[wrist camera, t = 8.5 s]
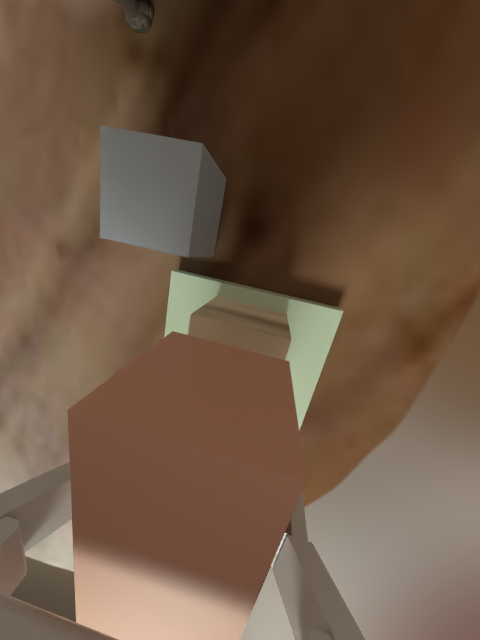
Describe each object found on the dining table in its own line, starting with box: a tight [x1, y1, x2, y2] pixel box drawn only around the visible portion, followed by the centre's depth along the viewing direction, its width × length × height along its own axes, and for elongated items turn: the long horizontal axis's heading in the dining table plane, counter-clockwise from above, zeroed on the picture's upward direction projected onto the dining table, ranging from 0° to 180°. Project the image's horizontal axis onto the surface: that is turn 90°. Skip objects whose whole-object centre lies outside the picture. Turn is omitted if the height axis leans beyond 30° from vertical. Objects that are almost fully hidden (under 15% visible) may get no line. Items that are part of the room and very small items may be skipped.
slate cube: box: [100, 125, 226, 258], centre depth 13 cm, size 5×5×5 cm
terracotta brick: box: [68, 331, 306, 640], centre depth 8 cm, size 10×5×5 cm, turn 168°
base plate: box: [165, 270, 343, 430], centre depth 17 cm, size 12×12×1 cm
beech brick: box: [188, 296, 291, 360], centre depth 14 cm, size 10×5×5 cm, turn 168°
